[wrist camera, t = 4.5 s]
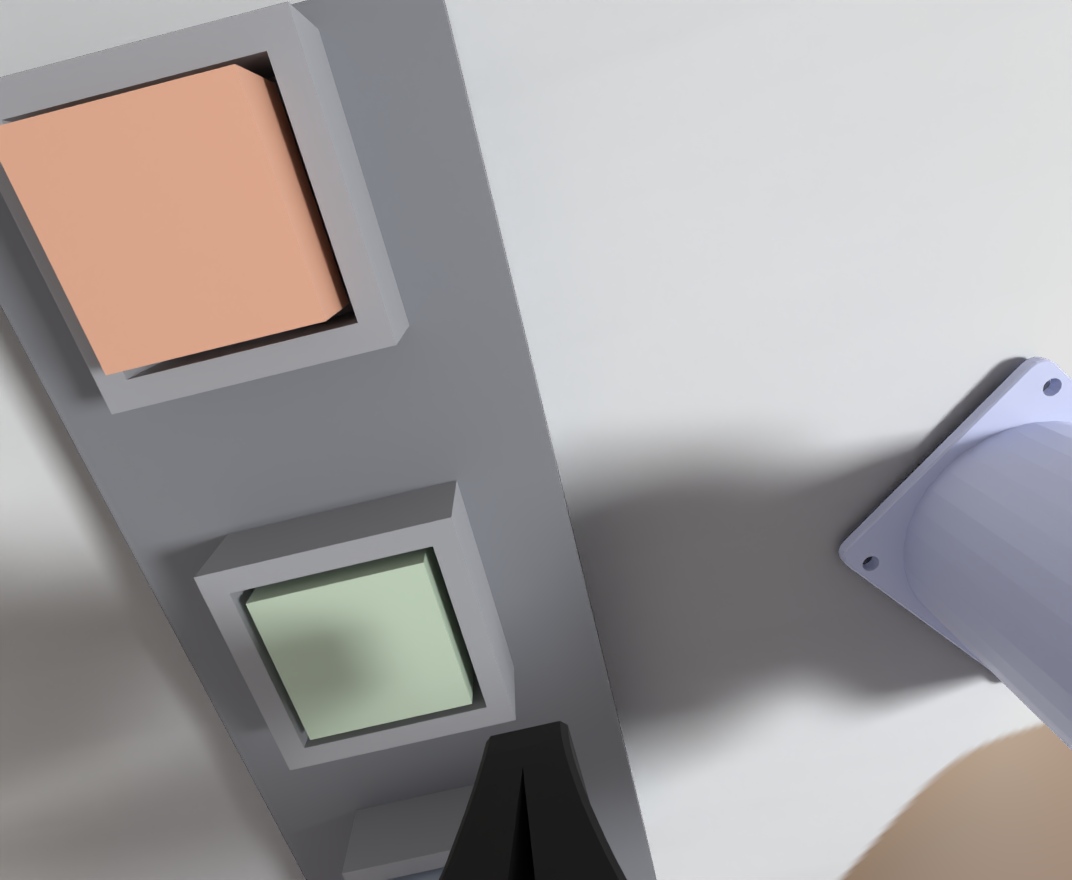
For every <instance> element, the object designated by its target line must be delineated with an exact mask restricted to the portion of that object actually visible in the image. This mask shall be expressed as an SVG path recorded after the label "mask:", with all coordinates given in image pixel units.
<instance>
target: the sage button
mask: <svg viewBox="0 0 1072 880" xmlns="http://www.w3.org/2000/svg"><path fill="white" fill-rule="evenodd" d="M246 606H247V608H248V610H249V612H250V614H251V616H252V618H253V621H254V623H255V625H256V627H257V629H258V631H259V633H260V635H261V637H262V640H263V642H264V644H265V646H266V648H267V650H268V652H269V654H270V656H271V659H272V661H273V663H274V665H275V667H276V669H277V671H278V673H279V675H280V677H281V680H282V682H283V684H284V686H285V688H286V690H287V692H288V694H289V696H290V699H291V701H292V703H293V705H294V707H295V709H296V711H297V713H298V715H299V718H300V720H301V722H302V724H303V726H304V728H305V730H306V732H307V734H308V736H309V739H310V740H313V739H317V738H322V737H326V736H331V735H335V734H340V733H344V732H349V731H353V730H358V729H362V728H366V727H371V726H375V725H380V724H384V723H389V722H393V721H398V720H402V719H407V718H411V717H415V716H420V715H424V714H429V713H433V712H438V711H442V710H447V709H451V708H456V707H460V706H464V705H469V704H472V696H473V677H474V667H473V664H472V661H471V658H470V655H469V652H468V650H467V647H466V644H465V641H464V638H463V635H462V632H461V629H460V626H459V623H458V620H457V617H456V614H455V611H454V608H453V605H452V602H451V599H450V596H449V593H448V590H447V587H446V584H445V581H444V578H443V575H442V572H441V569H440V566H439V563H438V560H437V557H436V554H435V551H434V548H433V546H432V547H427V548H423V549H419V550H414V551H410V552H406V553H402V554H397V555H393V556H389V557H384V558H380V559H376V560H372V561H367V562H363V563H359V564H354V565H350V566H346V567H341V568H337V569H333V570H329V571H324V572H320V573H316V574H311V575H307V576H303V577H299V578H294V579H290V580H286V581H281V582H277V583H273V584H269V585H264V586H260V587H256V588H255V589H254V591H253V593H252V594H251V596H250V598H249V599H248V601H247V603H246Z"/></svg>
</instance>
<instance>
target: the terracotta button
mask: <svg viewBox="0 0 1072 880" xmlns="http://www.w3.org/2000/svg"><path fill="white" fill-rule="evenodd" d="M0 162H1V164H2V166H3V168H4V170H5V172H6V174H7V176H8V178H9V180H10V182H11V184H12V186H13V188H14V190H15V192H16V194H17V196H18V198H19V200H20V202H21V204H22V206H23V208H24V210H25V212H26V215H27V217H28V219H29V221H30V223H31V225H32V227H33V229H34V231H35V233H36V235H37V237H38V239H39V241H40V243H41V245H42V247H43V249H44V251H45V253H46V255H47V257H48V259H49V261H50V263H51V265H52V267H53V269H54V271H55V273H56V275H57V277H58V279H59V281H60V284H61V286H62V288H63V290H64V292H65V294H66V296H67V298H68V300H69V302H70V304H71V306H72V308H73V310H74V312H75V314H76V316H77V318H78V320H79V322H80V324H81V326H82V328H83V330H84V332H85V334H86V336H87V338H88V340H89V342H90V344H91V346H92V348H93V350H94V353H95V355H96V357H97V359H98V361H99V363H100V365H101V367H102V369H103V371H104V373H105V375H110V374H114V373H118V372H122V371H126V370H130V369H134V368H138V367H142V366H146V365H150V364H154V363H158V362H162V361H166V360H170V359H174V358H178V357H183V356H187V355H191V354H195V353H199V352H203V351H207V350H211V349H215V348H219V347H223V346H227V345H231V344H235V343H239V342H243V341H247V340H252V339H256V338H260V337H264V336H268V335H272V334H276V333H280V332H284V331H288V330H292V329H296V328H300V327H304V326H308V325H312V324H316V323H321V322H325V321H327V320H328V319H329V318H331V317H332V316H333V315H335V314H336V313H337V312H339V311H340V310H341V309H343V308H344V307H345V306H347V305H348V304H349V301H348V298H347V295H346V292H345V289H344V286H343V283H342V280H341V277H340V274H339V271H338V268H337V265H336V262H335V259H334V256H333V254H332V251H331V248H330V245H329V242H328V239H327V236H326V233H325V230H324V227H323V224H322V221H321V218H320V215H319V212H318V209H317V206H316V203H315V200H314V197H313V194H312V191H311V188H310V185H309V182H308V179H307V176H306V173H305V170H304V167H303V164H302V161H301V158H300V155H299V152H298V149H297V147H296V144H295V141H294V138H293V135H292V132H291V129H290V126H289V123H288V120H287V117H286V114H285V111H284V108H283V105H282V102H281V99H280V96H279V93H278V90H277V87H276V84H275V83H274V82H272V81H269V80H267V79H265V78H263V77H261V76H259V75H257V74H255V73H253V72H251V71H249V70H246V69H244V68H242V67H240V66H238V65H236V64H233V65H229V66H225V67H221V68H217V69H214V70H210V71H206V72H202V73H198V74H194V75H191V76H187V77H183V78H179V79H175V80H171V81H168V82H164V83H160V84H156V85H152V86H148V87H145V88H141V89H137V90H133V91H129V92H126V93H122V94H118V95H114V96H110V97H106V98H103V99H99V100H95V101H91V102H87V103H83V104H80V105H76V106H72V107H68V108H64V109H60V110H57V111H53V112H49V113H45V114H41V115H38V116H34V117H30V118H26V119H22V120H18V121H15V122H11V123H7V124H3V125H0Z"/></svg>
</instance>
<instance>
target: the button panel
mask: <svg viewBox="0 0 1072 880" xmlns="http://www.w3.org/2000/svg"><path fill="white" fill-rule="evenodd" d="M233 64H236V65H238V66H240V67H242V68H244V69H246V70H249V71H251V72H253V73H255V74H257V75H259V76H261V77H263V78H265V79H267V80H269V81H272V82H274V83H275V84H276V87H277V90H278V93H279V96H280V99H281V102H282V105H283V108H284V111H285V114H286V117H287V120H288V123H289V126H290V129H291V132H292V135H293V138H294V141H295V144H296V147H297V149H298V152H299V155H300V158H301V161H302V164H303V167H304V170H305V173H306V176H307V179H308V182H309V185H310V188H311V191H312V194H313V197H314V200H315V203H316V206H317V209H318V212H319V215H320V218H321V221H322V224H323V227H324V230H325V233H326V236H327V239H328V242H329V245H330V248H331V251H332V254H333V256H334V259H335V262H336V265H337V268H338V271H339V274H340V277H341V280H342V283H343V286H344V289H345V292H346V295H347V298H348V301H349V304H348V305H347V306H345V307H344V308H343V309H341V310H340V311H339V312H337V313H336V314H335V315H333V316H332V317H331V318H329V319H328V320H327V321H325V322H321V323H316V324H312V325H308V326H304V327H300V328H296V329H292V330H288V331H284V332H280V333H276V334H272V335H268V336H264V337H260V338H256V339H252V340H247V341H243V342H239V343H235V344H231V345H227V346H223V347H219V348H215V349H211V350H207V351H203V352H199V353H195V354H191V355H187V356H183V357H178V358H174V359H170V360H166V361H162V362H158V363H154V364H150V365H146V366H142V367H138V368H134V369H130V370H126V371H122V372H118V373H114V374H110V375H105V373H104V371H103V369H102V367H101V365H100V363H99V361H98V359H97V357H96V355H95V353H94V350H93V348H92V346H91V344H90V342H89V340H88V338H87V336H86V334H85V332H84V330H83V328H82V326H81V324H80V322H79V320H78V318H77V316H76V314H75V312H74V310H73V308H72V306H71V304H70V302H69V300H68V298H67V296H66V294H65V292H64V290H63V288H62V286H61V284H60V281H59V279H58V277H57V275H56V273H55V271H54V269H53V267H52V265H51V263H50V261H49V259H48V257H47V255H46V253H45V251H44V249H43V247H42V245H41V243H40V241H39V239H38V237H37V235H36V233H35V231H34V229H33V227H32V225H31V223H30V221H29V219H28V217H27V215H26V212H25V210H24V208H23V206H22V204H21V202H20V200H19V198H18V196H17V194H16V192H15V190H14V188H13V186H12V184H11V182H10V180H9V178H8V176H7V174H6V172H5V170H4V168H3V166H2V164H1V162H0V305H1V307H2V309H3V311H4V313H5V315H6V317H7V318H8V320H9V322H10V324H11V326H12V328H13V330H14V332H15V333H16V335H17V337H18V339H19V341H20V343H21V345H22V347H23V348H24V350H25V352H26V354H27V356H28V358H29V360H30V362H31V364H32V365H33V367H34V369H35V371H36V373H37V375H38V377H39V379H40V380H41V382H42V384H43V386H44V388H45V390H46V392H47V394H48V395H49V397H50V399H51V401H52V403H53V405H54V407H55V409H56V410H57V412H58V414H59V416H60V418H61V420H62V422H63V424H64V425H65V427H66V429H67V431H68V433H69V435H70V437H71V439H72V441H73V442H74V444H75V446H76V448H77V450H78V452H79V454H80V456H81V457H82V459H83V461H84V463H85V465H86V467H87V469H88V471H89V472H90V474H91V476H92V478H93V480H94V482H95V484H96V486H97V487H98V489H99V491H100V493H101V495H102V497H103V499H104V501H105V502H106V504H107V506H108V508H109V510H110V512H111V514H112V516H113V517H114V519H115V521H116V523H117V525H118V527H119V529H120V531H121V533H122V534H123V536H124V538H125V540H126V542H127V544H128V546H129V548H130V549H131V551H132V553H133V555H134V557H135V559H136V561H137V563H138V564H139V566H140V568H141V570H142V572H143V574H144V576H145V578H146V579H147V581H148V583H149V585H150V587H151V589H152V591H153V593H154V594H155V596H156V598H157V600H158V602H159V604H160V606H161V608H162V610H163V611H164V613H165V615H166V617H167V619H168V621H169V623H170V625H171V626H172V628H173V630H174V632H175V634H176V636H177V638H178V640H179V641H180V643H181V645H182V647H183V649H184V651H185V653H186V655H187V656H188V658H189V660H190V662H191V664H192V666H193V668H194V670H195V671H196V673H197V675H198V677H199V679H200V681H201V683H202V685H203V686H204V688H205V690H206V692H207V694H208V696H209V698H210V700H211V702H212V703H213V705H214V707H215V709H216V711H217V713H218V715H219V717H220V718H221V720H222V722H223V724H224V726H225V728H226V730H227V732H228V733H229V735H230V737H231V739H232V741H233V743H234V745H235V747H236V748H237V750H238V752H239V754H240V756H241V758H242V760H243V762H244V763H245V765H246V767H247V769H248V771H249V773H250V775H251V777H252V779H253V780H254V782H255V784H256V786H257V788H258V790H259V792H260V794H261V795H262V797H263V799H264V801H265V803H266V805H267V807H268V809H269V810H270V812H271V814H272V816H273V818H274V820H275V822H276V824H277V825H278V827H279V829H280V831H281V833H282V835H283V837H284V839H285V840H286V842H287V844H288V846H289V848H290V850H291V852H292V854H293V855H294V857H295V859H296V861H297V863H298V865H299V867H300V869H301V871H302V872H303V874H304V876H305V878H306V880H387V879H392V878H397V877H401V876H406V875H410V874H415V873H420V872H424V871H429V870H434V869H438V868H443V867H444V866H445V864H446V861H447V859H448V856H449V853H450V851H451V848H452V845H453V843H454V840H455V837H456V835H457V832H458V829H459V827H460V824H461V821H462V818H463V816H464V813H465V810H466V807H467V804H468V801H469V798H470V795H471V792H472V789H473V786H474V783H475V780H476V776H477V773H478V770H479V766H480V763H481V759H482V756H483V752H484V748H485V744H486V742H487V740H488V739H489V738H490V736H493V735H497V734H502V733H506V732H511V731H516V730H520V729H525V728H529V727H534V726H538V725H543V724H547V723H552V722H557V721H562V722H563V723H565V724H567V725H568V727H569V731H570V734H571V738H572V741H573V745H574V748H575V752H576V755H577V759H578V762H579V766H580V769H581V773H582V776H583V780H584V783H585V787H586V790H587V794H588V797H589V801H590V804H591V806H592V809H593V811H594V813H595V815H596V818H597V820H598V822H599V824H600V826H601V829H602V831H603V833H604V835H605V838H606V840H607V842H608V844H609V846H610V848H611V850H612V852H613V854H614V856H615V858H616V860H617V862H618V864H619V865H620V867H621V869H622V871H623V873H624V875H625V877H626V879H627V880H656V875H655V871H654V866H653V862H652V858H651V853H650V849H649V845H648V840H647V836H646V831H645V827H644V823H643V819H642V815H641V810H640V806H639V802H638V798H637V794H636V790H635V786H634V781H633V777H632V773H631V769H630V765H629V761H628V757H627V753H626V748H625V744H624V740H623V736H622V732H621V728H620V724H619V719H618V715H617V711H616V707H615V703H614V699H613V695H612V691H611V686H610V682H609V678H608V674H607V670H606V666H605V662H604V658H603V653H602V649H601V645H600V641H599V637H598V633H597V629H596V624H595V620H594V616H593V612H592V608H591V604H590V600H589V596H588V591H587V587H586V583H585V579H584V575H583V571H582V567H581V562H580V558H579V554H578V550H577V546H576V542H575V538H574V534H573V529H572V525H571V521H570V517H569V513H568V509H567V505H566V501H565V496H564V492H563V488H562V484H561V480H560V476H559V472H558V467H557V463H556V459H555V455H554V451H553V447H552V443H551V439H550V434H549V430H548V426H547V422H546V418H545V414H544V410H543V405H542V401H541V397H540V393H539V389H538V385H537V381H536V377H535V372H534V368H533V364H532V360H531V356H530V352H529V348H528V343H527V339H526V335H525V331H524V327H523V323H522V319H521V315H520V310H519V306H518V302H517V298H516V294H515V290H514V286H513V282H512V277H511V273H510V269H509V265H508V261H507V257H506V253H505V248H504V244H503V240H502V236H501V232H500V228H499V224H498V220H497V215H496V211H495V207H494V203H493V199H492V195H491V191H490V186H489V182H488V178H487V174H486V170H485V166H484V162H483V158H482V153H481V149H480V145H479V141H478V137H477V133H476V129H475V125H474V120H473V116H472V112H471V108H470V104H469V100H468V96H467V91H466V87H465V83H464V79H463V75H462V71H461V67H460V63H459V58H458V54H457V50H456V46H455V42H454V38H453V34H452V29H451V25H450V21H449V17H448V13H447V9H446V5H445V1H444V0H307V1H303V2H299V3H295V4H292V5H291V4H290V3H289V2H284V3H280V4H276V5H273V6H269V7H265V8H261V9H258V10H254V11H250V12H246V13H242V14H239V15H235V16H231V17H227V18H223V19H220V20H216V21H212V22H208V23H204V24H201V25H197V26H193V27H189V28H186V29H182V30H178V31H174V32H170V33H167V34H163V35H159V36H155V37H151V38H148V39H144V40H140V41H136V42H132V43H129V44H125V45H121V46H117V47H114V48H110V49H106V50H102V51H98V52H95V53H91V54H87V55H83V56H79V57H76V58H72V59H68V60H64V61H60V62H57V63H53V64H49V65H45V66H42V67H38V68H34V69H30V70H26V71H23V72H19V73H15V74H11V75H7V76H4V77H0V125H3V124H7V123H11V122H15V121H18V120H22V119H26V118H30V117H34V116H38V115H41V114H45V113H49V112H53V111H57V110H60V109H64V108H68V107H72V106H76V105H80V104H83V103H87V102H91V101H95V100H99V99H103V98H106V97H110V96H114V95H118V94H122V93H126V92H129V91H133V90H137V89H141V88H145V87H148V86H152V85H156V84H160V83H164V82H168V81H171V80H175V79H179V78H183V77H187V76H191V75H194V74H198V73H202V72H206V71H210V70H214V69H217V68H221V67H225V66H229V65H233ZM432 546H433V548H434V551H435V554H436V557H437V560H438V563H439V566H440V569H441V572H442V575H443V578H444V581H445V584H446V587H447V590H448V593H449V596H450V599H451V602H452V605H453V608H454V611H455V614H456V617H457V620H458V623H459V626H460V629H461V632H462V635H463V638H464V641H465V644H466V647H467V650H468V652H469V655H470V658H471V661H472V664H473V667H474V677H473V696H472V704H469V705H464V706H460V707H456V708H451V709H447V710H442V711H438V712H433V713H429V714H424V715H420V716H415V717H411V718H407V719H402V720H398V721H393V722H389V723H384V724H380V725H375V726H371V727H366V728H362V729H358V730H353V731H349V732H344V733H340V734H335V735H331V736H326V737H322V738H317V739H313V740H310V739H309V736H308V734H307V732H306V730H305V728H304V726H303V724H302V722H301V720H300V718H299V715H298V713H297V711H296V709H295V707H294V705H293V703H292V701H291V699H290V696H289V694H288V692H287V690H286V688H285V686H284V684H283V682H282V680H281V677H280V675H279V673H278V671H277V669H276V667H275V665H274V663H273V661H272V659H271V656H270V654H269V652H268V650H267V648H266V646H265V644H264V642H263V640H262V637H261V635H260V633H259V631H258V629H257V627H256V625H255V623H254V621H253V618H252V616H251V614H250V612H249V610H248V608H247V606H246V603H247V601H248V599H249V598H250V596H251V594H252V593H253V591H254V589H255V588H256V587H260V586H264V585H269V584H273V583H277V582H281V581H286V580H290V579H294V578H299V577H303V576H307V575H311V574H316V573H320V572H324V571H329V570H333V569H337V568H341V567H346V566H350V565H354V564H359V563H363V562H367V561H372V560H376V559H380V558H384V557H389V556H393V555H397V554H402V553H406V552H410V551H414V550H419V549H423V548H427V547H432Z"/></svg>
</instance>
